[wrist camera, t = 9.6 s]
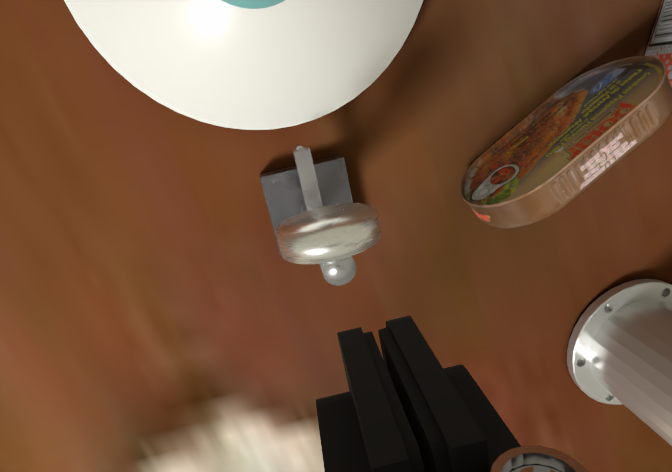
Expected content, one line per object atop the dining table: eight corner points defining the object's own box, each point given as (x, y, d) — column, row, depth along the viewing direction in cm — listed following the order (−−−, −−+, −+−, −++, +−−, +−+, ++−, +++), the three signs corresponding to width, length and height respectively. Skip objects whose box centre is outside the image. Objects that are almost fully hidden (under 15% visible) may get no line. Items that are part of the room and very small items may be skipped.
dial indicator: (335, 130, 33) (389, 158, 20) (355, 230, 36) (416, 318, 22) (253, 149, 33) (249, 192, 19) (280, 249, 35) (293, 351, 22)
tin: (597, 55, 35) (697, 45, 27) (615, 89, 36) (717, 89, 28) (441, 186, 36) (492, 213, 28) (463, 215, 37) (518, 249, 29)
